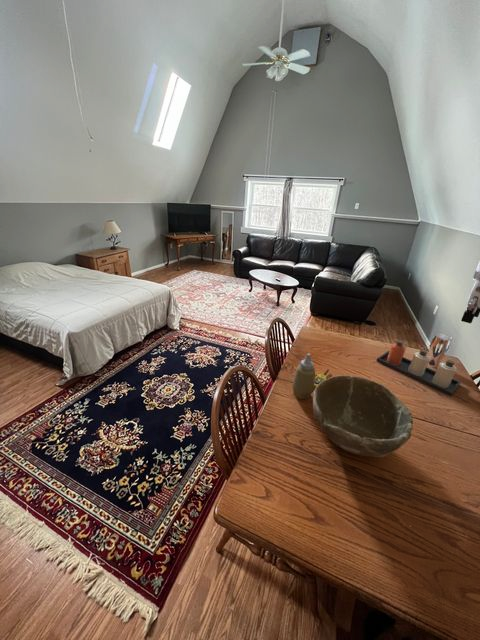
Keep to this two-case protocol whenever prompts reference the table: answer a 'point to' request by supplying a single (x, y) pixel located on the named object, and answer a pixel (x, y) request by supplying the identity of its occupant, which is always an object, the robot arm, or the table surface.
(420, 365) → the cream bottle
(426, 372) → the tray
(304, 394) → the squeeze bottle
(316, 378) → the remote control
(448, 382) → the cream bottle
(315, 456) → the table surface
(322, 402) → the bowl
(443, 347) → the beer glass
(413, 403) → the table surface
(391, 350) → the terracotta bottle
